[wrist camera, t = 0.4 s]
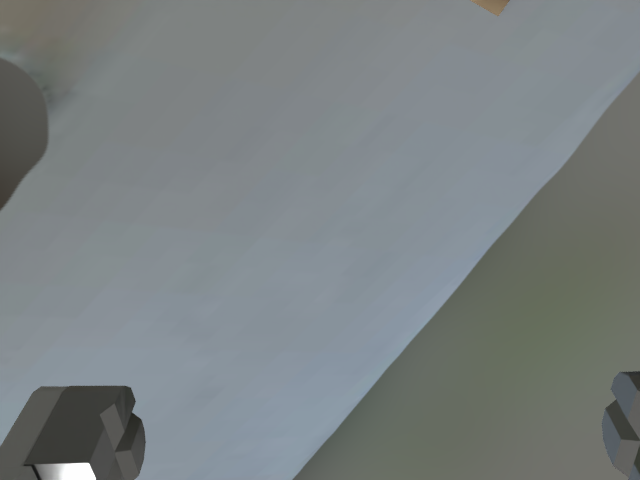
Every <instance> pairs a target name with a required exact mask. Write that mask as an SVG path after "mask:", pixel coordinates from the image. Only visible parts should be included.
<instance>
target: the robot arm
mask: <svg viewBox="0 0 640 480" xmlns="http://www.w3.org/2000/svg"><path fill="white" fill-rule="evenodd" d="M611 390H612V392H613V394H614V396H615V398H616V400H615V401H614V402H613V403H611V404H610V405H609V406H608V407H606V408H605V412H604V416H603V420H602V431H603V440H604V444H605V448H606V450H607V454H608V456H609V458H610V460H611V462H612V464H613V466H614V467H615V468H617V469H618V470H619V471H621V472H622V473H623V474H625V475H626V476H628V477H629V479H628V480H640V371H633V372H619V373H618V374H617V375H616V377H615V378H614V380H613V384H612V387H611ZM135 402H136V401H135V398H134V395H133V392H132V390H131V387H127V386H69V387H45V386H41V387H40V388H38V389H37V390H36V391H34V392H33V393H32V395H31V396H30V398H29V400H28V401H27V403H26V405H25V406H24V408H23V410H22V411H21V413H20V415H19V416H18V418H17V420H16V421H15V423H14V425H13V426H12V428H11V430H10V431H9V433H8V435H7V436H6V438H5V440H4V442H3V443H2V445H1V447H0V480H134V479H135V478H136V477H138V476H139V473H140V470H141V467H142V464H143V460H144V452H145V443H146V442H145V431H144V427H143V423H142V420H141V419H140V418H139V417H137V416H136V415H135V414H134V413H132V410H133V407H134V405H135Z"/></svg>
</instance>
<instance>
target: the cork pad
mask: <svg viewBox="0 0 640 480" xmlns="http://www.w3.org/2000/svg"><path fill="white" fill-rule="evenodd" d="M470 1H472V2H474V3H476V4H477V5H479V6H481V7H483V8H484V9H486V10H488V11H490V12H491V13H493V14H495V15H497V16H499V14H500V13H501V12H502V10H503V9H504V7H505V6H506V5H507V3H508V2H509V0H470Z"/></svg>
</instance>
